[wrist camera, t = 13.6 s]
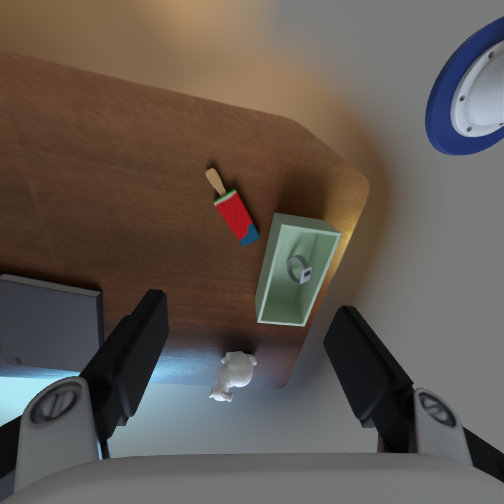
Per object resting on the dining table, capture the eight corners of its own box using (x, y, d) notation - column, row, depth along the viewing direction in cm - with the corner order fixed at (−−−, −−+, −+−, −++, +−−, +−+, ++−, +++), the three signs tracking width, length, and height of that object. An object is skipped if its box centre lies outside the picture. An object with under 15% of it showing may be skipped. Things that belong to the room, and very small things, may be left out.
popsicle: (219, 162, 30) (262, 236, 36) (220, 162, 31) (261, 234, 37) (196, 177, 31) (242, 247, 37) (198, 176, 32) (242, 244, 38)
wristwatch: (292, 274, 42) (309, 285, 38) (283, 278, 40) (301, 290, 37) (294, 250, 39) (313, 258, 35) (285, 253, 38) (304, 263, 34)
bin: (274, 212, 35) (281, 224, 29) (323, 220, 37) (342, 233, 30) (254, 297, 44) (257, 322, 38) (295, 301, 46) (304, 326, 39)
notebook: (105, 366, 53) (102, 290, 41) (99, 375, 51) (95, 297, 39) (16, 355, 49) (-14, 268, 37) (6, 364, 47) (-29, 274, 35)
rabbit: (221, 369, 56) (216, 418, 45) (209, 350, 52) (200, 400, 41) (259, 360, 55) (263, 408, 44) (249, 340, 51) (252, 387, 40)
